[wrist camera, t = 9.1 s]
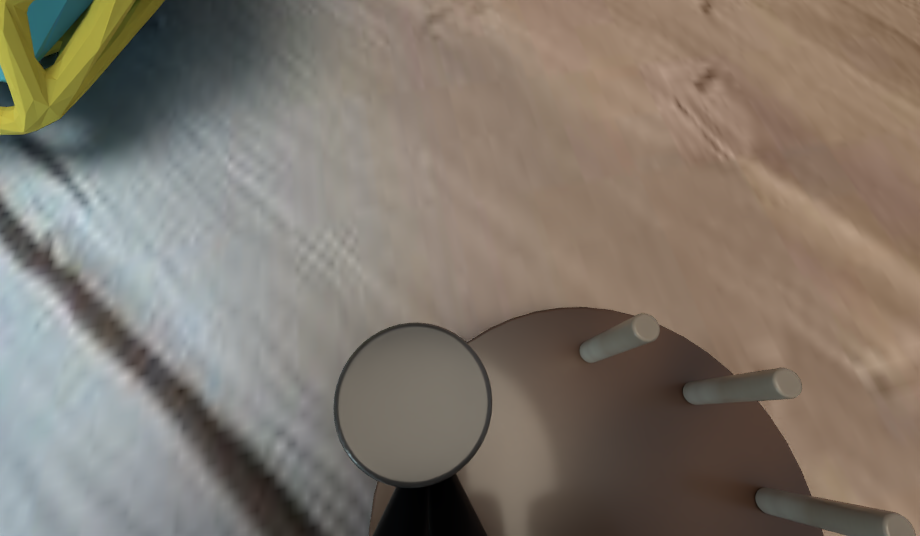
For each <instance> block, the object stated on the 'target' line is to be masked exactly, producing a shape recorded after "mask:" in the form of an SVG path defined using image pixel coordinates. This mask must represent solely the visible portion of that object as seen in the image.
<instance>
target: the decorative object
mask: <svg viewBox="0 0 920 536" xmlns="http://www.w3.org/2000/svg"><path fill="white" fill-rule="evenodd" d="M164 1H165V0H0V82H6V83H7V84H8V87H9V89H10V92H11V95H12V98H13V102H14V105H15V106H10V107H0V135H23V134H27V133H31V132H34V131H37V130H39V129H41V128H43V127H45V126H47V125H49V124H51V123H53V122H55V121H57V120H59V119H61V117H62V116H63V115H64V114H65V113H66V112H67V111H68V110H69V109H70V108H71V107H72V106H73V105H74V104H75V103H76V102H77V101H78V100H79V99H80V98H81V97H82V96H83V94H84V93H85V92H86V91H87V90H88V89H89V88H90V87H91V86H92V85H93V83H94V82H95V81H96V80H97V79H98V78H99V77H100V75H101V74H102V73H103V72H104V71H105V70H106V68H107V67H108V66H109V65H110V64H111V63H112V62H113V60H114V59H115V58H116V57H117V56H118V55H119V53H120V52H121V51H122V50H123V49H124V48H125V46H126V45H127V44H128V43H129V42H130V41H131V40H132V38H133V37H134V36H135V35H136V34H137V33H138V31H139V30H140V29H141V28H142V27H143V26H144V24H145V23H146V22H147V21H148V20H149V19H150V18H151V16H152V15H153V14H154V13H155V12H156V11H157V9H158V8H159V7H160V6H161V5H162V4H163V2H164ZM56 52H59V53H58V56H57V58H56V60H55V63H54V65H52V66H50V67H48V68H46V69H44V68H43V67H42V66H41V64H40V63H39V61H40V60H41V59H42V58H43V57H45V56H48V55H51V54H53V53H56Z"/></svg>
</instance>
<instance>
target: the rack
mask: <svg viewBox="0 0 920 536" xmlns="http://www.w3.org/2000/svg"><path fill="white" fill-rule="evenodd" d="M801 391H802V383H801V380H800V378H799V377H798V375H797V374H796V373H795V372H793V371H792V370H789V369H787V368H776V369H770V370H763V371H757V372H750V373H744V374H737V375H733V374H732V373H731V372H730V371H729V370H728V369H727V368H726V367H724V366H723V365H722V364H721V363H720V362H718V361H717V360H716V359H715V358H713V357H712V356H711V355H710V354H709V353H707V352H706V351H704V350H703V349H701V348H700V347H698V346H697V345H695V344H694V343H692V342H691V341H689V340H688V339H686V338H685V337H683V336H681V335H679V334H677V333H675V332H673V331H671V330H669V329H667V328H665V327H663V326H661V325H659V324H658V322H657V320H656V319H655V318H654V317H652V316H651V315H648V314H644V313H641V314H637V315H635V316H634V315H630V314H625V313H621V312H617V311H613V310H606V309H597V308H588V307H572V308H555V309H549V310H542V311H536V312H532V313H529V314H526V315H522V316H519V317H516V318H512V319H510V320H507V321H505V322H503V323H501V324H499V325H496V326H494V327H492V328H490V329H488V330H486V331H485V332H483V333H481V334H480V335H478V336H477V337H475V338H473V339H472V340H470V341H469V342H467V343H466V342H465V341H464V340H463V339H462V338H460V337H459V336H458V335H456V334H455V333H453V332H451V331H449V330H447V329H445V328H442V327H439V326H436V325H432V324H426V323H405V324H399V325H395V326H392V327H389V328H387V329H384V330H382V331H380V332H378V333H376V334H375V335H373V336H371V337H370V338H369V339H367V340H366V341H365V342H363V343H362V344H361V345H360V346H359V347H358V348H357V349H356V350H355V352H354V353H353V354H352V355H351V357H350V358H349V360H348V361H347V363H346V364H345V366H344V368H343V370H342V372H341V374H340V377H339V380H338V383H337V386H336V391H335V396H334V421H335V426H336V431H337V434H338V436H339V439H340V442H341V444H342V446H343V448H344V450H345V452H346V453H347V454H348V456H349V457H350V459H351V460H352V461H353V462H354V463H355V464H356V466H357V467H358V468H359V469H361V470H362V471H363V472H364V473H366V474H367V475H368V476H370V477H372V478H373V479H375V480H377V481H378V482H377V485H376V489H375V493H374V499H373V506H372V513H371V520H370V527H369V536H373V534H374V531H375V529H376V527H377V525H378V523H379V521H380V519H381V517H382V515H383V513H384V511H385V509H386V506H387V504H388V502H389V500H390V498H391V496H392V494H393V492H394V490H395V488H396V487H400V488H421V487H426V486H431V485H434V484H436V483H439V482H442V481H444V480H446V479H448V478H450V477H451V476H453V475H454V474H456V475H457V477H458V479H459V481H460V483H461V484H462V486H463V488H464V490H465V492H466V494H467V496H468V498H469V500H470V502H471V504H472V506H473V508H474V510H475V512H476V514H477V516H478V518H479V520H480V522H481V524H482V526H483V528H484V530H485V532H486V534H487V535H488V536H823V532H822V529H824V530H828V531H832V532H835V533H839V534H843V535H846V536H916V534H915V530H914V528H913V526H912V524H911V523H910V522H909V521H908V520H907V519H906V518H905V517H903V516H902V515H900V514H898V513H895V512H890V511H885V510H880V509H875V508H870V507H864V506H859V505H854V504H849V503H844V502H839V501H833V500H828V499H823V498H818V497H813V496H811V494H810V491H809V489H808V486H807V484H806V481H805V479H804V476H803V474H802V471H801V469H800V467H799V465H798V463H797V461H796V459H795V457H794V456H793V454H792V452H791V450H790V448H789V446H788V444H787V442H786V440H785V439H784V437H783V436H782V434H781V433H780V431H779V430H778V428H777V427H776V425H775V424H774V422H773V420H772V419H771V417H770V416H769V415H768V413H767V412H766V411H765V410H764V408H763V407H762V406H761V405H760V403H759V402H758V401H765V400H780V399H793V398H796V397H797V396H798V395H799V394H800V393H801Z"/></svg>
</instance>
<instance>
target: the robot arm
mask: <svg viewBox="0 0 920 536" xmlns="http://www.w3.org/2000/svg"><path fill="white" fill-rule="evenodd" d="M373 536H488V535H487V534H486V532H485V530H484V528H483V526H482V524H481V522H480V520H479V518H478V516H477V514H476V512H475V510H474V508H473V506H472V504H471V502H470V500H469V498H468V496H467V494H466V492H465V490H464V488H463V486H462V484H461V483H460V481H459V479H458V477H457V475H456V474H454V475H453V476H451V477H450V478H448V479H446V480H444V481H442V482H439V483H436V484H434V485H431V486H426V487H421V488H400V487H396V488H395V490H394V492H393V494H392V496H391V498H390V500H389V502H388V504H387V506H386V509H385V511H384V513H383V515H382V517H381V519H380V521H379V523H378V525H377V527H376V529H375V531H374V534H373Z"/></svg>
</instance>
